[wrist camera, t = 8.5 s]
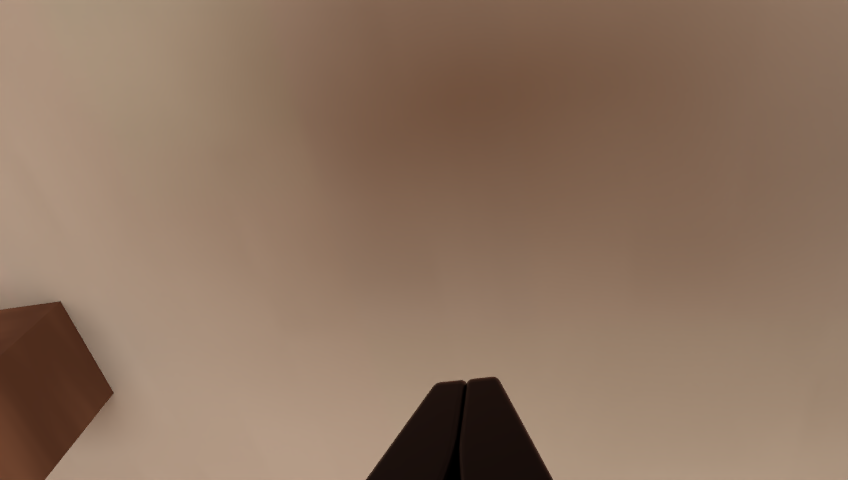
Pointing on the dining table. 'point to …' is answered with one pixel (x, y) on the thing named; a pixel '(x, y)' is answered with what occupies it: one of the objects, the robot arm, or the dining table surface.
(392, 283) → the dining table surface
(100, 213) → the dining table surface
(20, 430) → the brown patterned block
